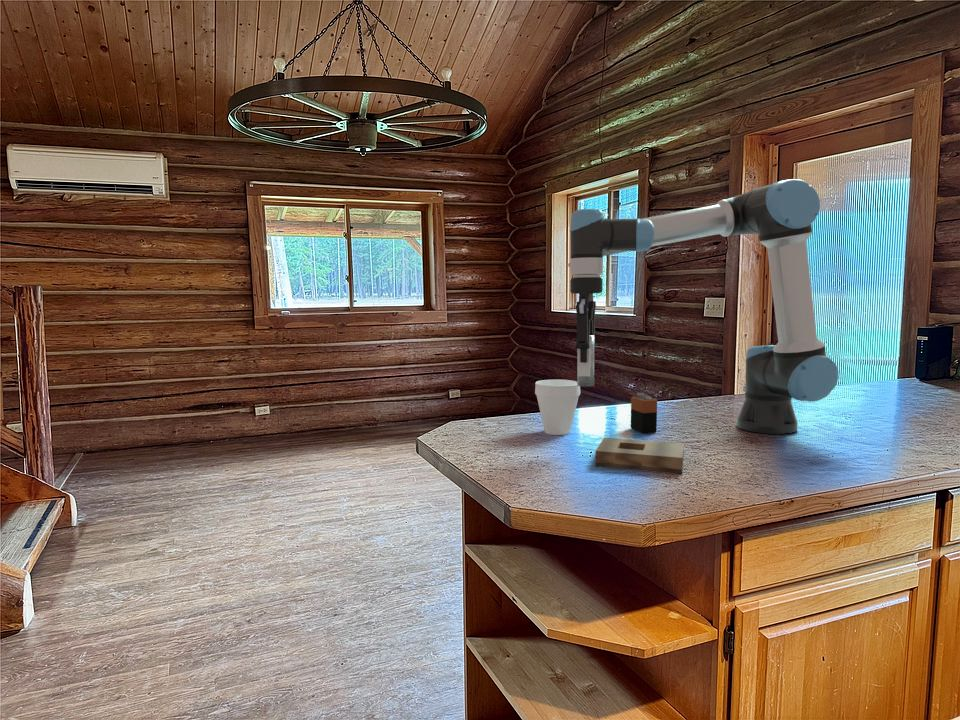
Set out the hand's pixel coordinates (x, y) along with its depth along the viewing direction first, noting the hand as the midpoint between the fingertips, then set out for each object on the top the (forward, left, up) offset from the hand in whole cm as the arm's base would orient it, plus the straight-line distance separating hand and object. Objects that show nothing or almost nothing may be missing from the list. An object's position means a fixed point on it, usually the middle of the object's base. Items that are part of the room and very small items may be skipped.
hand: (585, 374), depth 147 cm
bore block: (-14, +9, -18) cm, 24 cm away
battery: (-12, -24, -18) cm, 32 cm away
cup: (+10, -15, -18) cm, 26 cm away
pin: (0, 0, -3) cm, 3 cm away
